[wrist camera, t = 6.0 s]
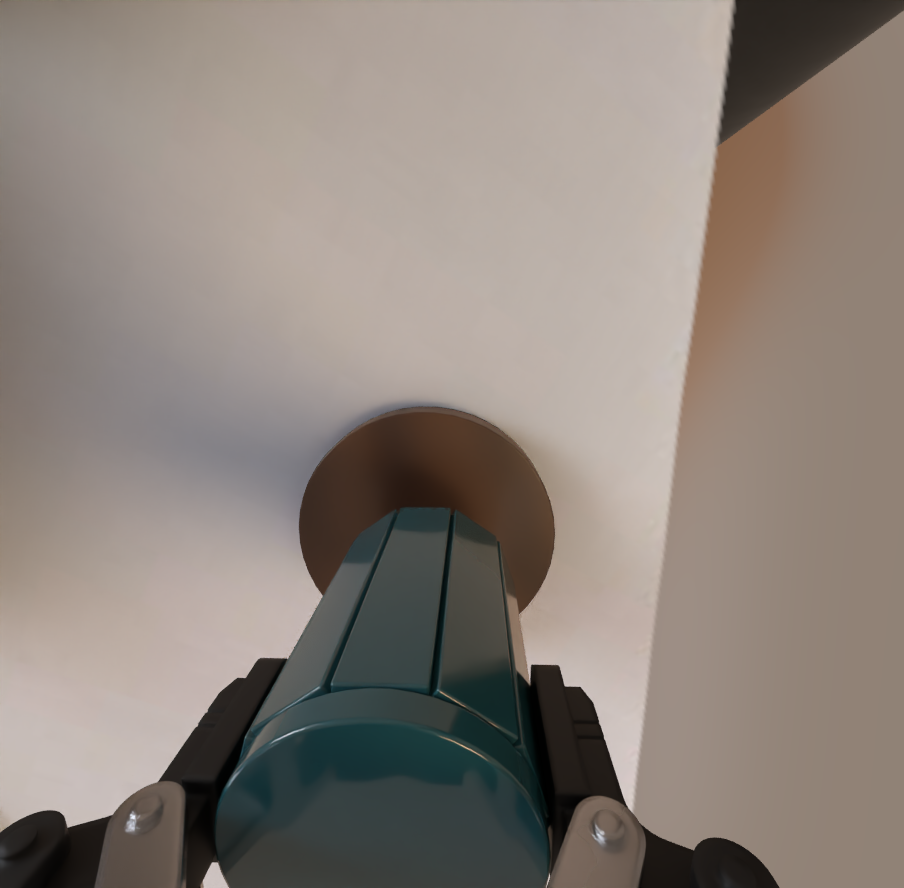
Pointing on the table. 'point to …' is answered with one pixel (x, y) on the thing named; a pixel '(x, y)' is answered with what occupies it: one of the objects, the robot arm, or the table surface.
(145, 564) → the table surface
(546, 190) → the table surface
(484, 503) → the holder
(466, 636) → the cup
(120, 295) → the table surface
